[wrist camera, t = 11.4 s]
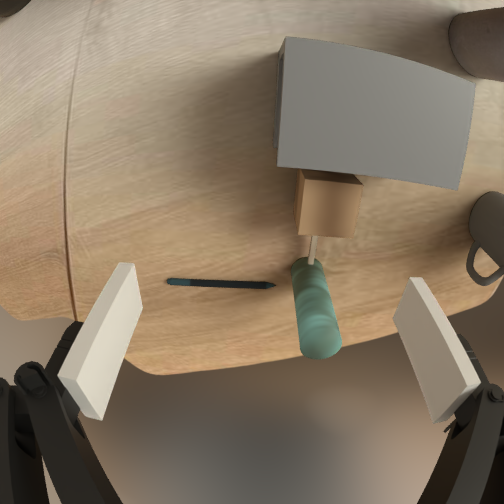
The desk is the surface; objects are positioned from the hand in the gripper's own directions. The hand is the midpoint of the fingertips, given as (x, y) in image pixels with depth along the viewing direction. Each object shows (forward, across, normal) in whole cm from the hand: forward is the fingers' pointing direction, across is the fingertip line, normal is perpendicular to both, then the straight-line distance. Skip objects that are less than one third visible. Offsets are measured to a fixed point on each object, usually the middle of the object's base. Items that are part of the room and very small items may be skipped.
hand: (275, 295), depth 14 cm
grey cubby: (+25, +10, +7) cm, 27 cm away
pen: (+25, -5, -18) cm, 31 cm away
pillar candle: (+25, +27, +20) cm, 42 cm away
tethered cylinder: (+24, +7, -9) cm, 27 cm away
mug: (+24, +34, -6) cm, 42 cm away
